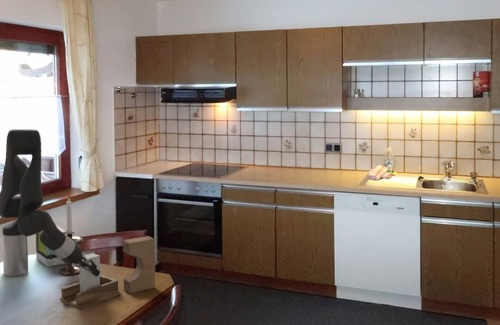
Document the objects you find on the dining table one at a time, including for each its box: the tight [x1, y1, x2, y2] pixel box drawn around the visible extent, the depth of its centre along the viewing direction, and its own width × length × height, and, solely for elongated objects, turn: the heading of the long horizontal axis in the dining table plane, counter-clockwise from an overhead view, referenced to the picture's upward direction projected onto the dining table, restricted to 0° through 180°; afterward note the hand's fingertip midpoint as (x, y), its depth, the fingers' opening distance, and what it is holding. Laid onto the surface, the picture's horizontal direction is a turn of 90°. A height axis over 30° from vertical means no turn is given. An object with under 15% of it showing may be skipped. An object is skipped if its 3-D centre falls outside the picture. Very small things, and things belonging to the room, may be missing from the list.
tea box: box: [35, 224, 67, 267], centre depth 238 cm, size 15×10×15 cm, turn 39°
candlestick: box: [58, 190, 84, 277], centre depth 222 cm, size 11×11×35 cm
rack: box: [59, 274, 121, 310], centre depth 198 cm, size 12×18×5 cm, turn 144°
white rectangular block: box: [79, 253, 101, 292], centre depth 197 cm, size 4×6×14 cm, turn 144°
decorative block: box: [122, 235, 156, 295], centre depth 206 cm, size 11×6×20 cm, turn 127°
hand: (94, 272), depth 199 cm, fingers closed on white rectangular block, 4 cm apart
